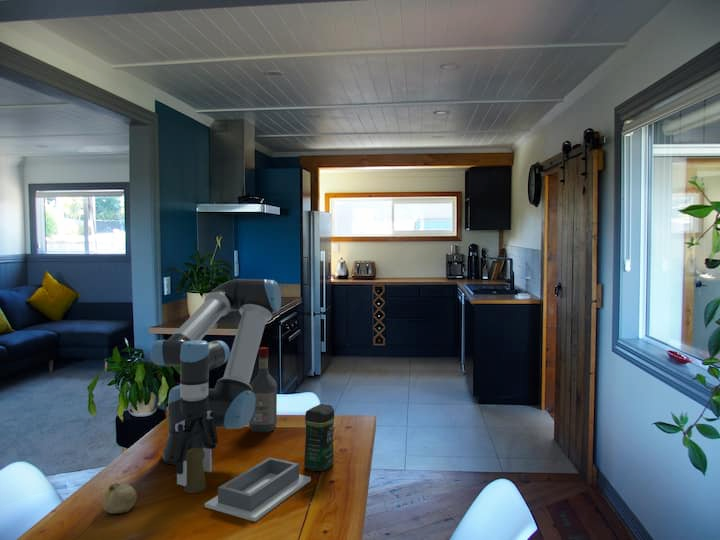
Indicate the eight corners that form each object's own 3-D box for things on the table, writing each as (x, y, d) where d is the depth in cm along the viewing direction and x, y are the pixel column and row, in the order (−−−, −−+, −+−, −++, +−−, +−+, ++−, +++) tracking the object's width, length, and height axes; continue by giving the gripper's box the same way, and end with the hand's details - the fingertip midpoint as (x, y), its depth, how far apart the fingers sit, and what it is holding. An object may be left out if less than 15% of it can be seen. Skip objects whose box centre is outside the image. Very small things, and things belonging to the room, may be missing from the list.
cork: (210, 485, 148) (210, 447, 148) (195, 494, 143) (195, 454, 142) (194, 481, 151) (194, 443, 150) (178, 490, 145) (178, 450, 145)
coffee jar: (323, 474, 157) (324, 412, 156) (300, 469, 160) (300, 409, 159) (337, 462, 165) (338, 403, 165) (315, 458, 169) (315, 400, 168)
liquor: (273, 432, 192) (273, 350, 191) (248, 432, 192) (248, 350, 191) (277, 424, 201) (277, 346, 200) (253, 423, 201) (253, 345, 200)
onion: (123, 500, 139) (123, 473, 139) (143, 507, 135) (143, 480, 135) (95, 512, 132) (95, 485, 132) (115, 521, 128) (115, 492, 128)
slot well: (255, 521, 129) (255, 501, 129) (204, 507, 136) (204, 487, 136) (310, 480, 152) (310, 463, 152) (265, 469, 159) (265, 453, 159)
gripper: (175, 409, 134) (175, 496, 135) (231, 389, 154) (231, 465, 155) (153, 405, 137) (154, 490, 138) (211, 386, 157) (211, 461, 158)
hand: (194, 477), depth 146 cm, fingers open, 9 cm apart
